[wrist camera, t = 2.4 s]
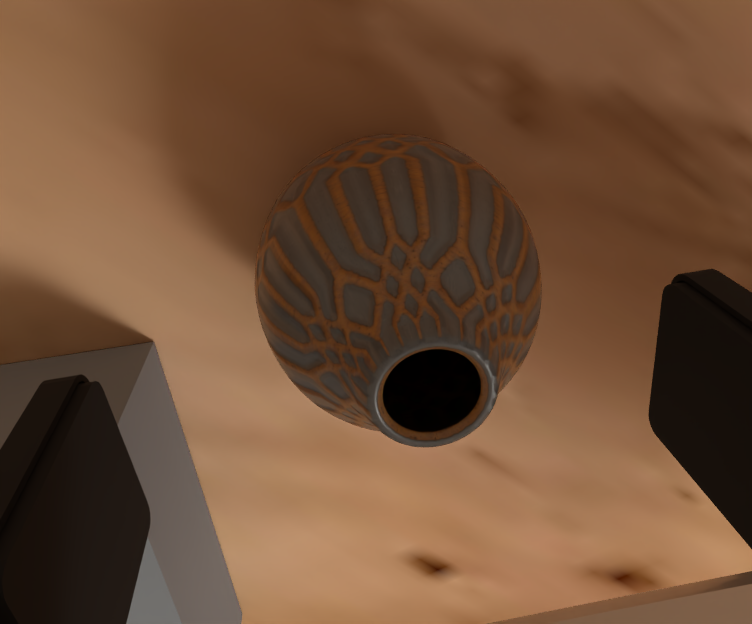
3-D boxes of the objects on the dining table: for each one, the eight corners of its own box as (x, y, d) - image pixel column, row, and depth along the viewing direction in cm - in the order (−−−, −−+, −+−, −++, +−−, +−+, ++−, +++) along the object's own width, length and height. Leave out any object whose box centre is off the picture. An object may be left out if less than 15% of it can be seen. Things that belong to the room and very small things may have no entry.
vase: (226, 159, 17) (163, 288, 10) (462, 79, 17) (596, 146, 9) (310, 358, 20) (314, 578, 13) (510, 294, 20) (641, 479, 12)
